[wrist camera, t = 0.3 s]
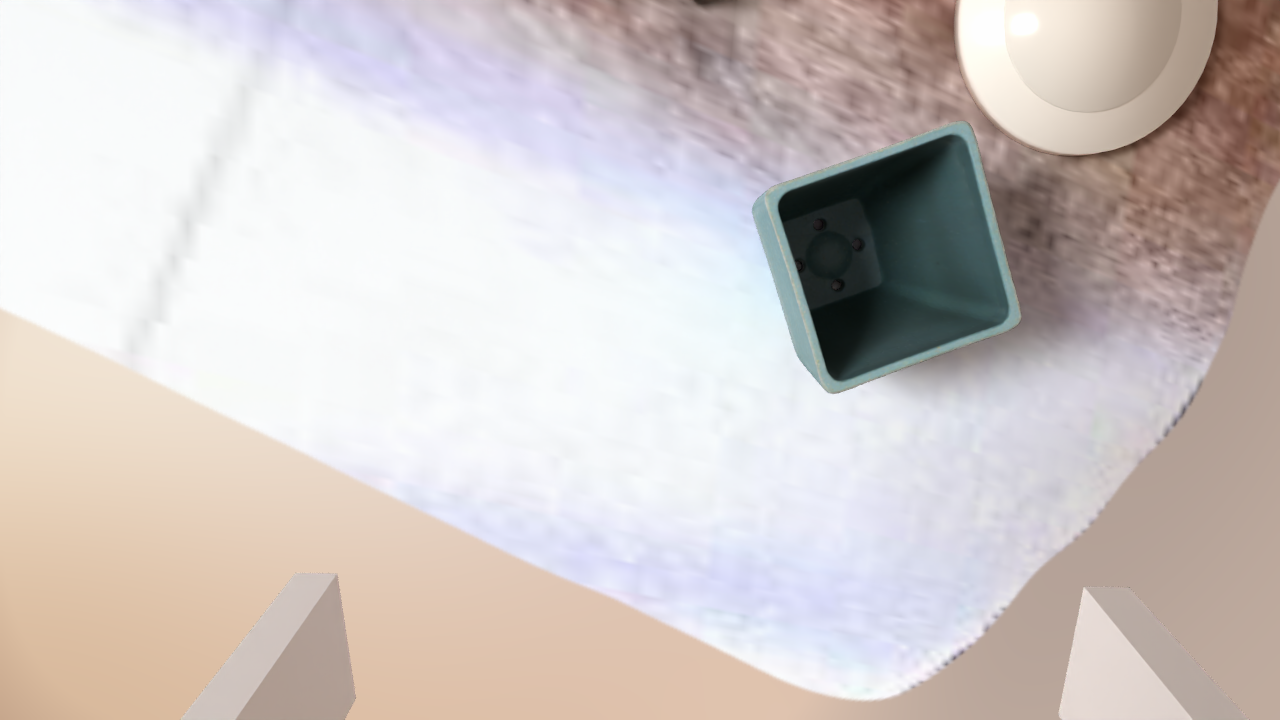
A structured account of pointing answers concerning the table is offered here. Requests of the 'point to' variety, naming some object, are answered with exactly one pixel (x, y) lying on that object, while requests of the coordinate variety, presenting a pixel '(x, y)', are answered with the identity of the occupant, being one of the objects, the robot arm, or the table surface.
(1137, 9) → the saucer
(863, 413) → the table surface
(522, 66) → the table surface
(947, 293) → the flower pot
